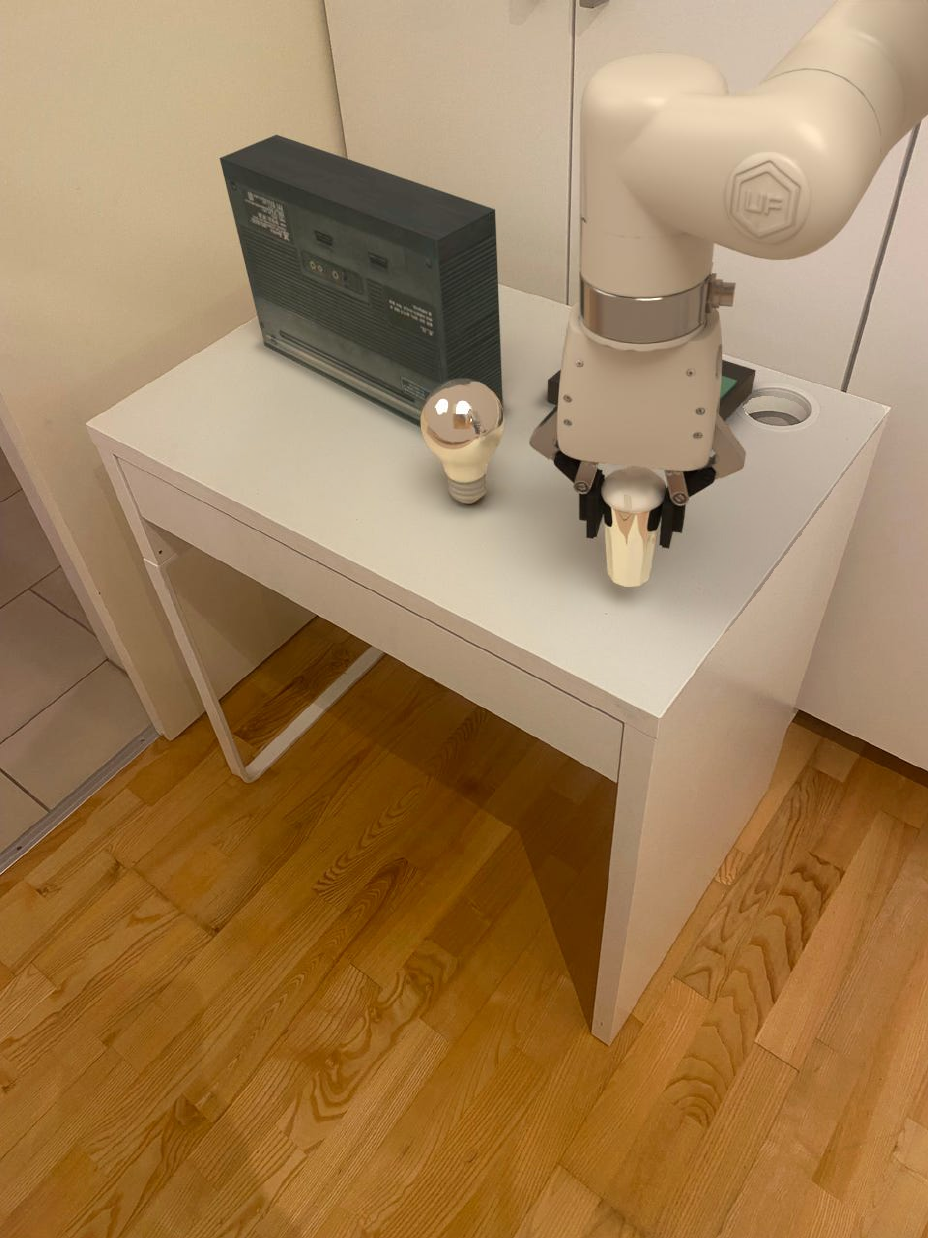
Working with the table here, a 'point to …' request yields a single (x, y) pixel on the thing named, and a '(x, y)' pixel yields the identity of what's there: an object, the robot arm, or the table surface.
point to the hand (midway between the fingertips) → (630, 528)
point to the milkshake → (631, 522)
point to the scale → (732, 393)
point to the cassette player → (367, 273)
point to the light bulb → (463, 433)
